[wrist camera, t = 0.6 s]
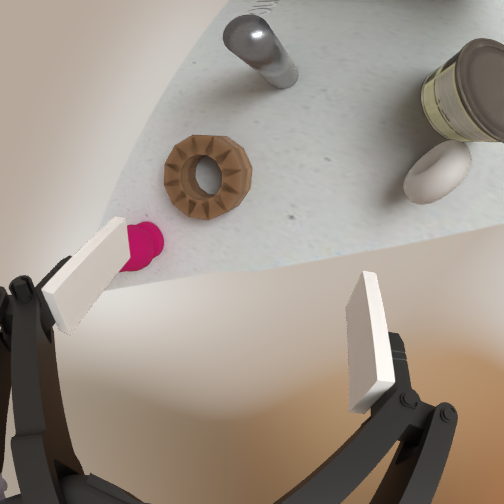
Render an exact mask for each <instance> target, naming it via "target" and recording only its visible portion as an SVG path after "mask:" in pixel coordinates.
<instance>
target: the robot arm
mask: <svg viewBox="0 0 504 504" xmlns="http://www.w3.org/2000/svg"><path fill="white" fill-rule="evenodd" d="M129 259H130V250H129V242H128V233H127V223H126V218H122V217H117V216H115V217H114V218H113V219H111V220H110V221H109V222H108V223H107V224H106V225H105V226H104V227H103V228H102V229H100V230H99V231H98V232H97V233H96V234H95V235H94V236H93V237H92V238H91V239H90V240H89V241H88V242H87V243H86V244H85V245H84V246H83V247H81V248H80V249H79V250H78V251H77V253H75V255H74V256H68V257H66V258H65V259H63V260H61V261H60V262H59V263H58V264H57V265H56V266H55V268H53V269H52V270H51V271H50V273H48V274H47V275H46V276H45V277H44V278H43V279H42V281H41V282H40V283H39V284H38V285H37V286H36V287H34V285H33V282H32V280H31V278H30V277H29V276H26V275H23V276H19V277H17V278H15V279H14V280H12V282H11V283H10V285H9V290H10V292H11V294H12V295H8V294H7V292H6V290H5V288H4V287H0V327H1V330H0V504H149V503H144V502H142V501H141V500H139V499H138V498H136V497H135V496H134V495H132V494H131V493H129V492H127V491H125V490H123V489H121V488H119V487H118V486H116V485H114V484H111V483H109V482H108V481H105V480H103V479H101V478H99V477H97V476H95V475H93V474H92V473H90V475H85V474H84V471H83V469H82V466H81V464H80V462H79V460H78V459H77V457H76V455H75V453H74V451H73V447H72V443H71V439H70V436H69V432H68V427H67V423H66V418H65V414H64V408H63V403H62V397H61V391H60V385H59V378H58V370H57V362H56V354H55V342H54V331H53V328H52V326H53V325H54V324H55V322H56V325H57V327H58V329H59V330H60V331H62V332H64V333H66V334H68V335H71V334H72V332H73V331H74V330H75V328H76V327H77V325H78V324H79V323H80V321H81V320H82V318H83V317H84V316H85V314H86V313H87V312H88V310H89V309H90V308H91V307H92V305H93V304H94V303H95V301H96V300H97V299H98V297H99V296H100V294H101V293H102V292H103V291H104V290H105V288H106V287H107V286H108V285H109V283H110V282H111V281H112V280H113V278H114V277H115V276H116V275H117V273H118V272H119V271H120V270H121V268H122V267H123V266H124V265H125V264H126V262H127V261H128V260H129ZM346 319H347V335H348V336H347V337H348V364H349V412H352V413H362V414H365V413H366V412H367V411H368V410H369V409H370V408H371V416H370V417H369V418H368V419H367V420H366V421H365V422H364V423H362V424H361V427H360V428H359V429H358V430H357V431H356V432H355V433H354V434H353V435H352V436H351V437H350V438H349V439H348V440H347V441H346V442H345V443H344V444H343V445H342V446H341V447H340V448H339V449H338V450H337V451H336V452H335V453H334V454H333V455H332V456H330V457H329V458H328V459H327V460H326V461H325V462H324V463H323V464H321V465H320V466H319V467H318V468H317V469H316V470H315V471H314V472H312V473H311V474H310V475H309V476H308V477H306V478H305V479H304V480H303V481H302V482H300V483H299V484H298V485H297V486H295V487H294V488H293V489H292V490H290V491H289V492H288V493H286V494H285V495H284V496H282V497H281V498H280V499H279V500H277V501H276V502H274V503H273V504H340V503H341V502H342V501H343V500H344V499H345V498H346V497H347V496H348V495H349V494H350V493H351V492H352V491H353V490H354V489H355V488H356V487H357V486H358V485H359V484H360V483H361V482H362V481H363V480H364V479H365V478H366V477H367V476H368V474H369V473H370V472H371V471H372V470H373V469H374V467H376V465H377V464H378V463H379V462H380V461H381V459H382V458H383V457H384V456H385V454H386V453H387V452H388V451H389V450H390V448H391V447H392V446H393V445H394V443H395V442H396V441H397V440H398V441H400V443H399V446H398V448H397V451H396V453H395V455H394V457H393V459H392V461H391V463H390V465H389V468H388V470H387V472H386V474H385V476H384V478H383V480H382V482H381V483H380V485H379V487H378V489H377V491H376V493H375V495H374V496H373V498H372V500H371V502H370V503H369V504H431V502H432V499H433V497H434V494H435V492H436V489H437V487H438V484H439V481H440V479H441V476H442V473H443V470H444V467H445V464H446V461H447V458H448V454H449V451H450V448H451V444H452V440H453V437H454V433H455V428H456V425H457V419H458V415H457V412H456V410H455V408H454V407H453V406H452V405H451V404H449V403H446V402H444V403H440V404H439V405H437V406H436V407H434V406H432V405H429V404H427V403H424V402H422V401H420V398H419V395H418V394H417V393H416V392H415V390H413V389H412V388H411V382H410V376H409V370H408V364H407V361H406V359H407V358H406V354H405V348H404V343H403V341H402V339H401V337H400V336H399V334H398V333H392V332H388V330H387V324H386V319H385V313H384V309H383V304H382V299H381V294H380V289H379V285H378V280H377V276H376V273H373V272H368V271H364V270H363V271H362V273H361V275H360V278H359V280H358V282H357V284H356V287H355V289H354V291H353V294H352V295H351V298H350V300H349V302H348V304H347V306H346ZM11 385H12V400H13V412H14V420H15V429H16V434H15V436H14V437H12V439H11V450H12V455H13V461H14V466H15V471H16V475H17V480H18V484H19V488H20V492H21V494H18V495H15V496H12V497H9V498H5V495H4V491H6V490H7V483H6V481H5V480H4V479H3V478H2V475H1V473H2V468H3V462H4V452H5V434H6V422H7V413H8V405H9V398H10V391H11Z"/></svg>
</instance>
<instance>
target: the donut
mask: <svg viewBox="0 0 504 504" xmlns="http://www.w3.org/2000/svg"><path fill="white" fill-rule="evenodd" d="M471 160H472V159H471V154H470V151H469V149H468V147H467V146H466V145H465V144H464V143H463V142H461V141H458V140H454V139H453V140H448V141H445V142H442V143H440V144H439V145H437V146H435V147H434V148H432V149H431V150H430V151H428V152H427V153H426V154H425V155H424V156H422V157H421V158H420V159H419V160H418V161H417V162H416V163H415V164H414V165H413V167H412V168H411V169H410V170H409V172H408V173H407V175H406V177H405V180H404V184H403V188H404V192H405V194H406V196H407V198H408V199H409V200H410V201H411V202H414V203H417V204H422V205H423V204H428V203H432V202H434V201H437V200H439V199H441V198H442V197H444V196H445V195H447V194H449V193H450V192H451V191H452V190H453V189H455V188H456V187H457V186H458V185H459V184H460V182H461V181H462V180H463V179H464V177H465V176H466V174H467V173H468V171H469V169H470V165H471Z"/></svg>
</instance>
